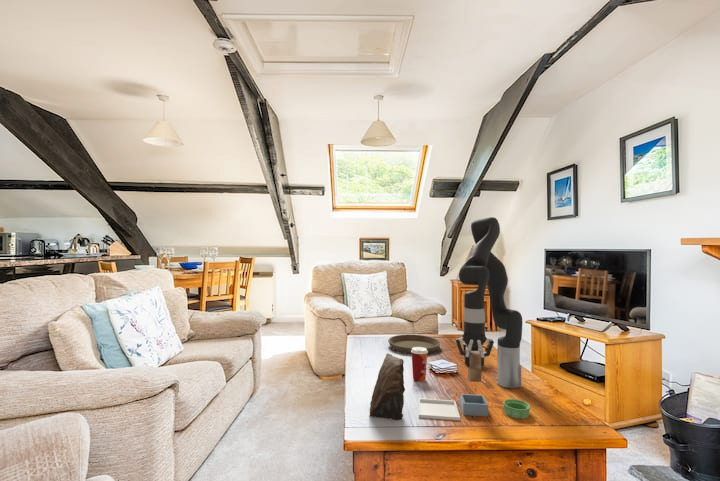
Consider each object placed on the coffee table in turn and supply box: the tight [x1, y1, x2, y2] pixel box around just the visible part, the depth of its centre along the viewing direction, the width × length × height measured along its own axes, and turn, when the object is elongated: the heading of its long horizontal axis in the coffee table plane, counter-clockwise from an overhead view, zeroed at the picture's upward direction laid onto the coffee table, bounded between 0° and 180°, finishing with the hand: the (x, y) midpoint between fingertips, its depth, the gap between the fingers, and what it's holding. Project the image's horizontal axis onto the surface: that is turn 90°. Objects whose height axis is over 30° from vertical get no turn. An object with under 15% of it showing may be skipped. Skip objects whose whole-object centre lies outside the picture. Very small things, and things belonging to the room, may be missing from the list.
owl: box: [369, 353, 406, 421], centre depth 134 cm, size 13×13×20 cm
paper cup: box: [411, 347, 429, 383], centre depth 168 cm, size 8×8×14 cm
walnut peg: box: [467, 351, 482, 383], centre depth 135 cm, size 4×4×10 cm
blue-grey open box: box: [459, 393, 489, 417], centre depth 135 cm, size 9×9×5 cm
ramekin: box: [503, 398, 531, 419], centre depth 133 cm, size 9×9×4 cm
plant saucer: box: [388, 334, 441, 355], centre depth 221 cm, size 31×31×5 cm
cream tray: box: [417, 397, 461, 421], centre depth 134 cm, size 14×14×2 cm
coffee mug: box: [462, 341, 487, 358], centre depth 192 cm, size 12×9×10 cm
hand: (474, 366), depth 135 cm, fingers closed on walnut peg, 4 cm apart
